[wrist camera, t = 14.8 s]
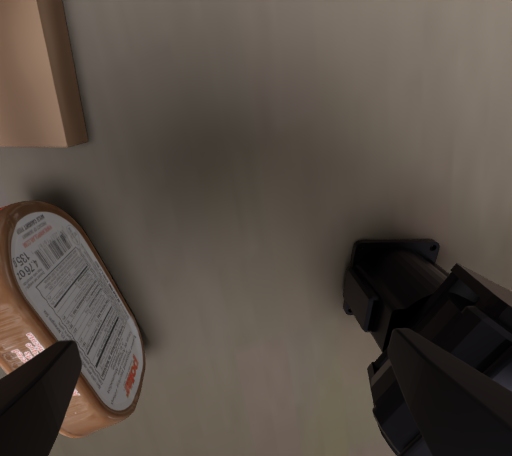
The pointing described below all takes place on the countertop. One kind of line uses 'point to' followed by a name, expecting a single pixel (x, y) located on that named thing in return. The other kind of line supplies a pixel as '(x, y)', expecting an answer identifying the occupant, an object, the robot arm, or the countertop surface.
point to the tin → (67, 313)
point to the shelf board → (38, 77)
